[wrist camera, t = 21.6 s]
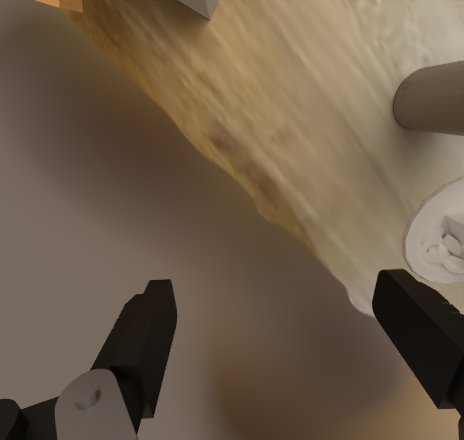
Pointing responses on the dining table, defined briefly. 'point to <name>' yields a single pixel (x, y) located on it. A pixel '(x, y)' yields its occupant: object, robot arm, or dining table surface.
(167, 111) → the dining table surface
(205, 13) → the tall pale grey pillar
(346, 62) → the dining table surface
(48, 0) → the bar
